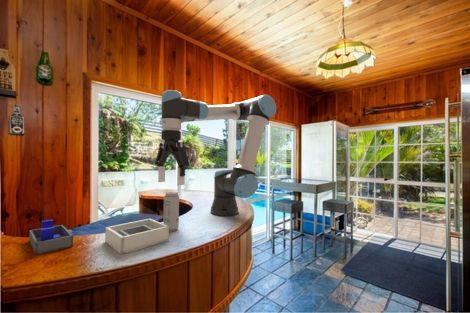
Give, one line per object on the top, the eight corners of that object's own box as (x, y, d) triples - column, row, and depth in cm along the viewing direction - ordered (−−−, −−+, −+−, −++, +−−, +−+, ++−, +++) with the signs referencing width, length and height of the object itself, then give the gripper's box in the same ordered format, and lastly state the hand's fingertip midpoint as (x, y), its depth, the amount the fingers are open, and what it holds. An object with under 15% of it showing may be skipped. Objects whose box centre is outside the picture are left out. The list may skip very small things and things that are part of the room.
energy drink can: (180, 230, 89) (181, 193, 89) (164, 232, 86) (165, 194, 86) (176, 226, 94) (177, 191, 94) (161, 228, 91) (162, 192, 91)
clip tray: (62, 234, 82) (62, 224, 82) (72, 246, 71) (73, 235, 71) (29, 240, 75) (29, 230, 75) (35, 255, 64) (35, 243, 64)
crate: (149, 231, 87) (150, 218, 87) (168, 240, 78) (169, 226, 78) (105, 241, 75) (105, 227, 75) (121, 254, 66) (121, 237, 66)
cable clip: (59, 246, 70) (59, 227, 70) (40, 249, 67) (41, 230, 67) (57, 235, 79) (58, 218, 79) (41, 238, 76) (41, 220, 76)
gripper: (146, 131, 93) (146, 181, 93) (182, 126, 77) (181, 187, 77) (162, 133, 99) (162, 180, 99) (198, 129, 83) (198, 185, 83)
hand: (170, 183), depth 88 cm, fingers open, 13 cm apart
